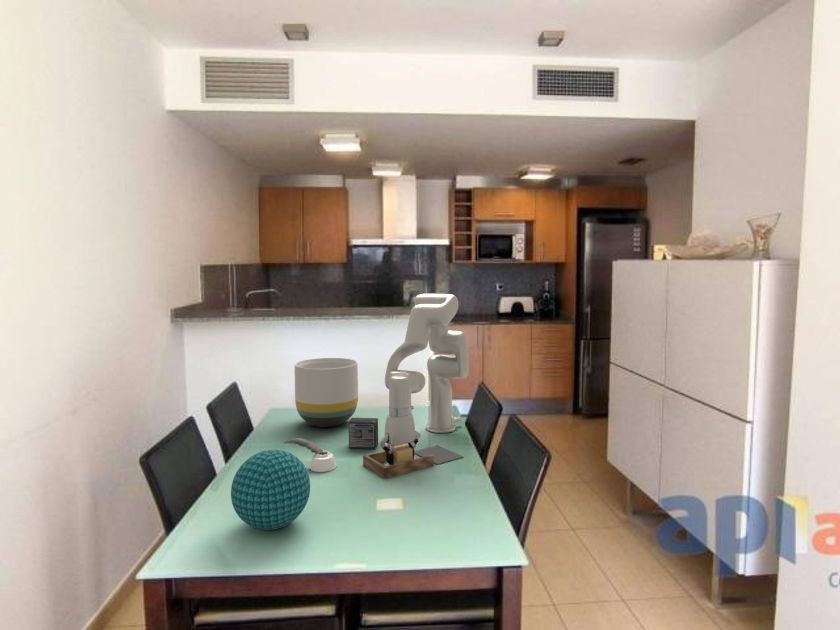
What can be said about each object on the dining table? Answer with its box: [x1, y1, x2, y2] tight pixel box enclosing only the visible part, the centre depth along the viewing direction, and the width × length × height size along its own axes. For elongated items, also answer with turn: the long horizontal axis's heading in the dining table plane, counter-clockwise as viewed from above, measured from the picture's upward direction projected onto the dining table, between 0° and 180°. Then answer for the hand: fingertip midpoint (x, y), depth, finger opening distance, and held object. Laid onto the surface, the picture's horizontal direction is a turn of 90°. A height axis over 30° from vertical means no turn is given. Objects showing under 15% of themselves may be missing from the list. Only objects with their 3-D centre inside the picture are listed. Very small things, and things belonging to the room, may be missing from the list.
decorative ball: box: [230, 449, 311, 531], centre depth 137 cm, size 20×20×20 cm
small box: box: [348, 417, 379, 450], centre depth 199 cm, size 11×6×10 cm, turn 84°
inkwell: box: [284, 437, 337, 473], centre depth 178 cm, size 9×18×10 cm, turn 91°
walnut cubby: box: [362, 444, 435, 480], centre depth 180 cm, size 20×14×4 cm
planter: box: [294, 357, 359, 428], centre depth 227 cm, size 27×27×27 cm
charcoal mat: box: [414, 444, 464, 466], centre depth 190 cm, size 12×15×1 cm
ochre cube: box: [388, 444, 413, 466], centre depth 180 cm, size 6×6×6 cm
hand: (400, 460), depth 181 cm, fingers open, 7 cm apart
